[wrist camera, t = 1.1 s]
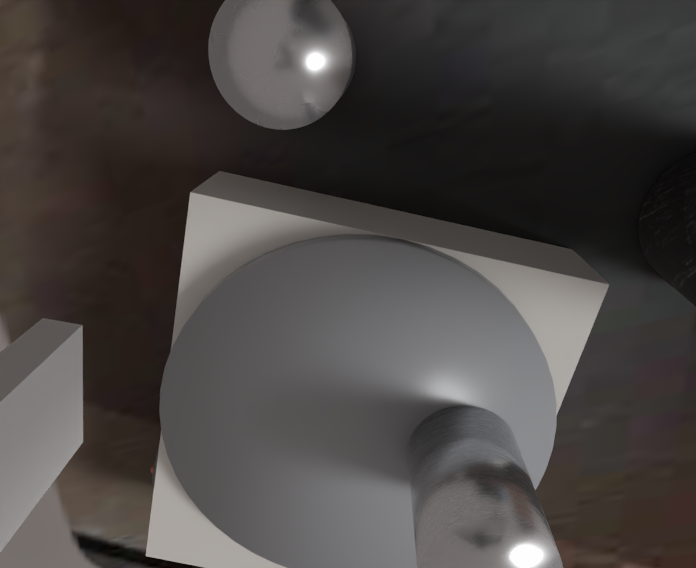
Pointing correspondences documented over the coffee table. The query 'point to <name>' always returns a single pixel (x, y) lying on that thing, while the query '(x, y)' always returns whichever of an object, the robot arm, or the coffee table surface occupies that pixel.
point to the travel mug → (672, 227)
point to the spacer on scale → (474, 495)
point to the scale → (343, 369)
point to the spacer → (281, 59)
